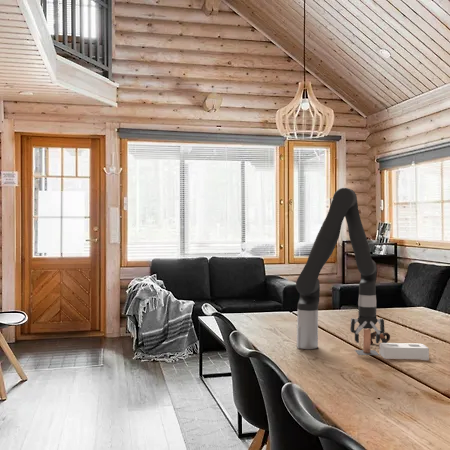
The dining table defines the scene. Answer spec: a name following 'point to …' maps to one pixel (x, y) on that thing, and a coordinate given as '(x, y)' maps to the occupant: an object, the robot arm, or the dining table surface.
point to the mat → (360, 352)
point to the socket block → (404, 351)
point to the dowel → (366, 340)
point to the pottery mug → (381, 337)
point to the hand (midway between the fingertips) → (367, 342)
